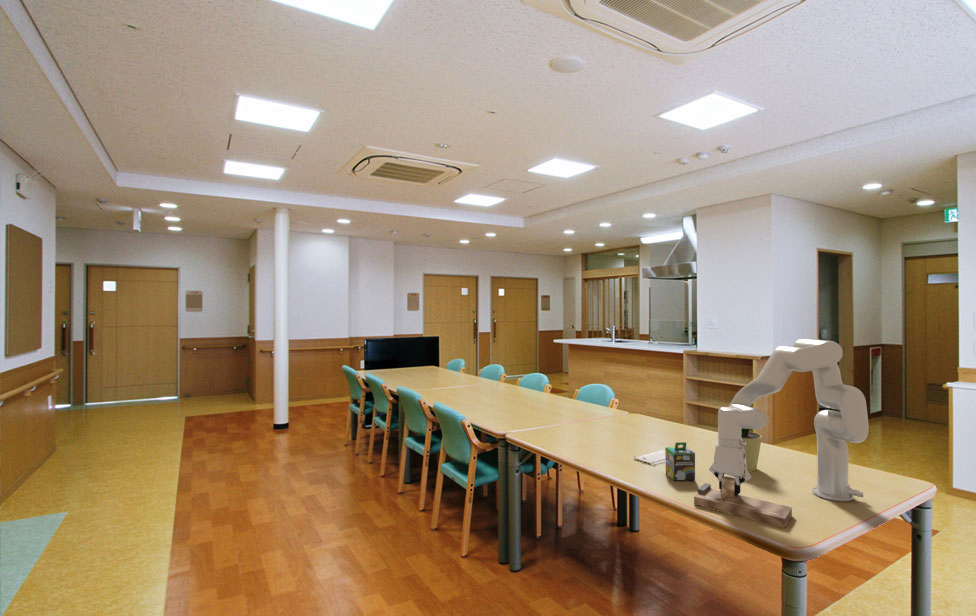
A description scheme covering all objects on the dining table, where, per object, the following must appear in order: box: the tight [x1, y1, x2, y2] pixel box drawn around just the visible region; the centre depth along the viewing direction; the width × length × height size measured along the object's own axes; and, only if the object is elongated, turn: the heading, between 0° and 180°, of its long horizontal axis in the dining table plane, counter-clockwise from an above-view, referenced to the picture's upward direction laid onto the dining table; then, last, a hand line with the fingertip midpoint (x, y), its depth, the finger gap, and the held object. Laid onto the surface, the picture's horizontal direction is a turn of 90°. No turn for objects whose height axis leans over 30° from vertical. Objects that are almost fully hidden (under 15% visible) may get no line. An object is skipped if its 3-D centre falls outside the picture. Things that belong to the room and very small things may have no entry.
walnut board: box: [693, 482, 793, 529], centre depth 169 cm, size 28×12×4 cm, turn 49°
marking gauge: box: [721, 474, 736, 501], centre depth 173 cm, size 4×12×8 cm, turn 139°
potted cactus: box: [741, 405, 763, 473], centre depth 214 cm, size 15×15×30 cm
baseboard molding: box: [633, 449, 666, 467], centre depth 229 cm, size 31×3×12 cm
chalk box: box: [665, 441, 696, 482], centre depth 202 cm, size 9×9×15 cm
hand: (729, 492), depth 175 cm, fingers closed on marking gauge, 4 cm apart
